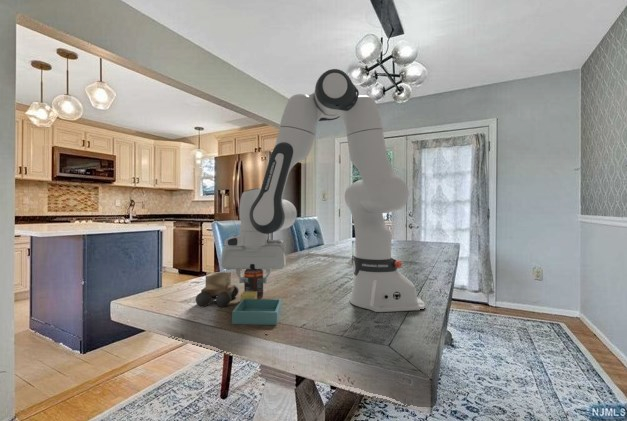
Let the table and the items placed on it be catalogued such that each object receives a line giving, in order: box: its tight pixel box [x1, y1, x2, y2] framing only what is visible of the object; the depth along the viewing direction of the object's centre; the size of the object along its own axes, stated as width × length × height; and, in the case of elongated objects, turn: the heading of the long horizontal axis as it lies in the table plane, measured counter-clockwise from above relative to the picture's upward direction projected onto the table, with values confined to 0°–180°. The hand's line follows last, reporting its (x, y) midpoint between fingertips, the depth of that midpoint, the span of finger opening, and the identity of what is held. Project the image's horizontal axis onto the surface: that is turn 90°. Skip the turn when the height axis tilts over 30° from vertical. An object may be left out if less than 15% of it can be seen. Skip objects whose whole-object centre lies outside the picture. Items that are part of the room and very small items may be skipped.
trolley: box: [195, 271, 240, 308], centre depth 94 cm, size 10×10×8 cm
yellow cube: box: [240, 290, 257, 301], centre depth 90 cm, size 4×4×4 cm
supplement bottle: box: [243, 264, 264, 299], centre depth 97 cm, size 6×6×11 cm
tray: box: [231, 298, 283, 326], centre depth 81 cm, size 11×11×3 cm
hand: (253, 282), depth 97 cm, fingers closed on supplement bottle, 6 cm apart
